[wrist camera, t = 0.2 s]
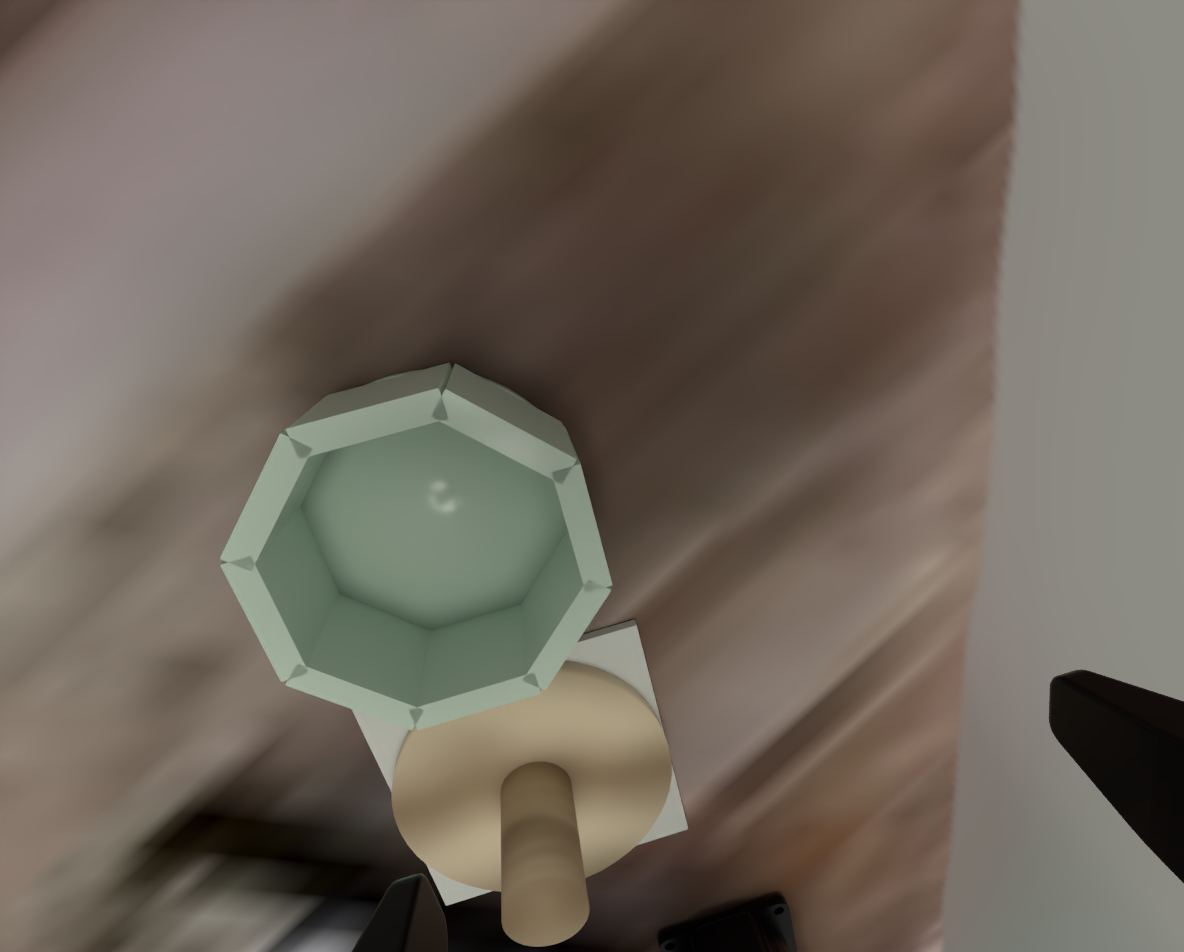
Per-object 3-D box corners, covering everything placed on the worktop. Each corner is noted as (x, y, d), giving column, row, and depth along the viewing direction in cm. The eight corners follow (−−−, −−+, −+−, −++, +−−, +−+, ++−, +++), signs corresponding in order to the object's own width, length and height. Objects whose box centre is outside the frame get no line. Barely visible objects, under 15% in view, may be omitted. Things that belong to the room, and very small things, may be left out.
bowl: (606, 587, 23) (633, 665, 19) (355, 660, 23) (321, 759, 18) (539, 334, 20) (552, 357, 15) (241, 414, 19) (165, 460, 15)
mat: (685, 821, 28) (688, 829, 27) (446, 896, 27) (446, 905, 27) (634, 619, 24) (636, 624, 24) (354, 702, 23) (351, 709, 23)
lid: (688, 828, 27) (735, 969, 22) (446, 905, 27) (433, 1068, 21) (636, 625, 24) (678, 734, 18) (351, 708, 23) (307, 848, 18)
